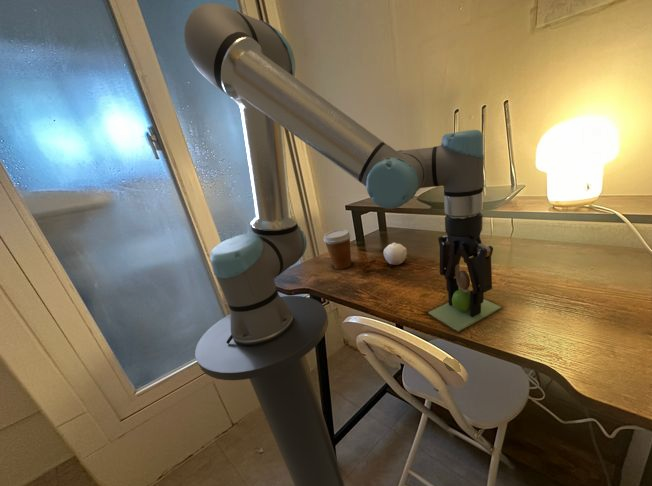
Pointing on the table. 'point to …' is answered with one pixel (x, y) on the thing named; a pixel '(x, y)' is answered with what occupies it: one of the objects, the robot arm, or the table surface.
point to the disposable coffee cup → (339, 248)
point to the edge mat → (462, 315)
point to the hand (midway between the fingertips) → (464, 308)
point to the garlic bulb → (395, 253)
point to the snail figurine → (461, 290)
